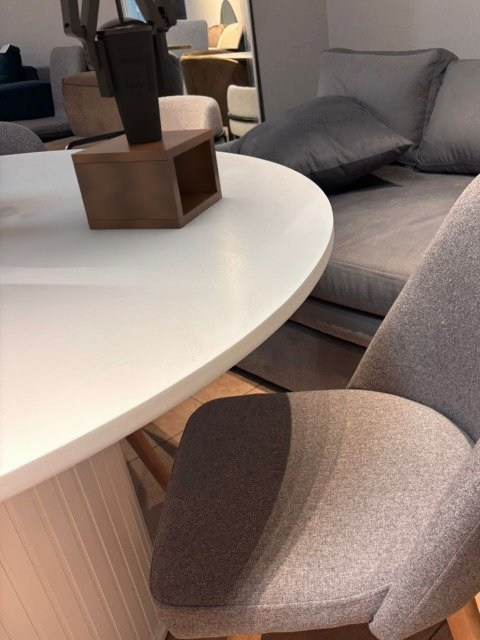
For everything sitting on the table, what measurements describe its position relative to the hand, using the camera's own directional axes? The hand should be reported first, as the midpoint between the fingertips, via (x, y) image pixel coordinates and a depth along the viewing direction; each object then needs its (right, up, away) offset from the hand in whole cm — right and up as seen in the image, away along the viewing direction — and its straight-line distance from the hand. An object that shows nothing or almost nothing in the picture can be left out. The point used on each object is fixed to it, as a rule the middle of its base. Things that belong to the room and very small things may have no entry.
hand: (135, 92), depth 86 cm
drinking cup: (0, -5, +3) cm, 6 cm away
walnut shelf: (+1, -14, +8) cm, 16 cm away
